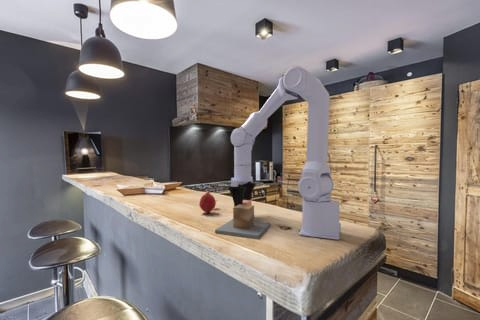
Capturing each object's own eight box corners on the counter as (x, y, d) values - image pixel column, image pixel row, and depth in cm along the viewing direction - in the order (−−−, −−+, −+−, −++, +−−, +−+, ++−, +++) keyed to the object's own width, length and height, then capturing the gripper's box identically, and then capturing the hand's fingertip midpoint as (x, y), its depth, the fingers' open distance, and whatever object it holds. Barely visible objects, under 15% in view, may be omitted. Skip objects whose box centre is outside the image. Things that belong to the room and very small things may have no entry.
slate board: (270, 225, 66) (270, 222, 66) (258, 238, 55) (258, 235, 55) (233, 221, 71) (233, 218, 71) (215, 232, 60) (215, 229, 60)
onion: (212, 215, 78) (212, 192, 78) (197, 214, 79) (197, 192, 79) (217, 211, 84) (217, 190, 84) (203, 211, 85) (202, 189, 85)
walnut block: (254, 224, 64) (254, 205, 64) (248, 229, 60) (248, 208, 60) (239, 223, 66) (239, 204, 66) (233, 227, 62) (233, 207, 62)
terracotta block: (251, 216, 77) (251, 200, 77) (246, 219, 73) (246, 202, 73) (239, 215, 79) (239, 199, 79) (234, 218, 74) (234, 201, 74)
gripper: (240, 164, 84) (240, 200, 84) (222, 165, 70) (222, 209, 71) (258, 164, 81) (258, 202, 81) (243, 166, 68) (243, 211, 68)
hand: (242, 205), depth 76 cm, fingers open, 7 cm apart
